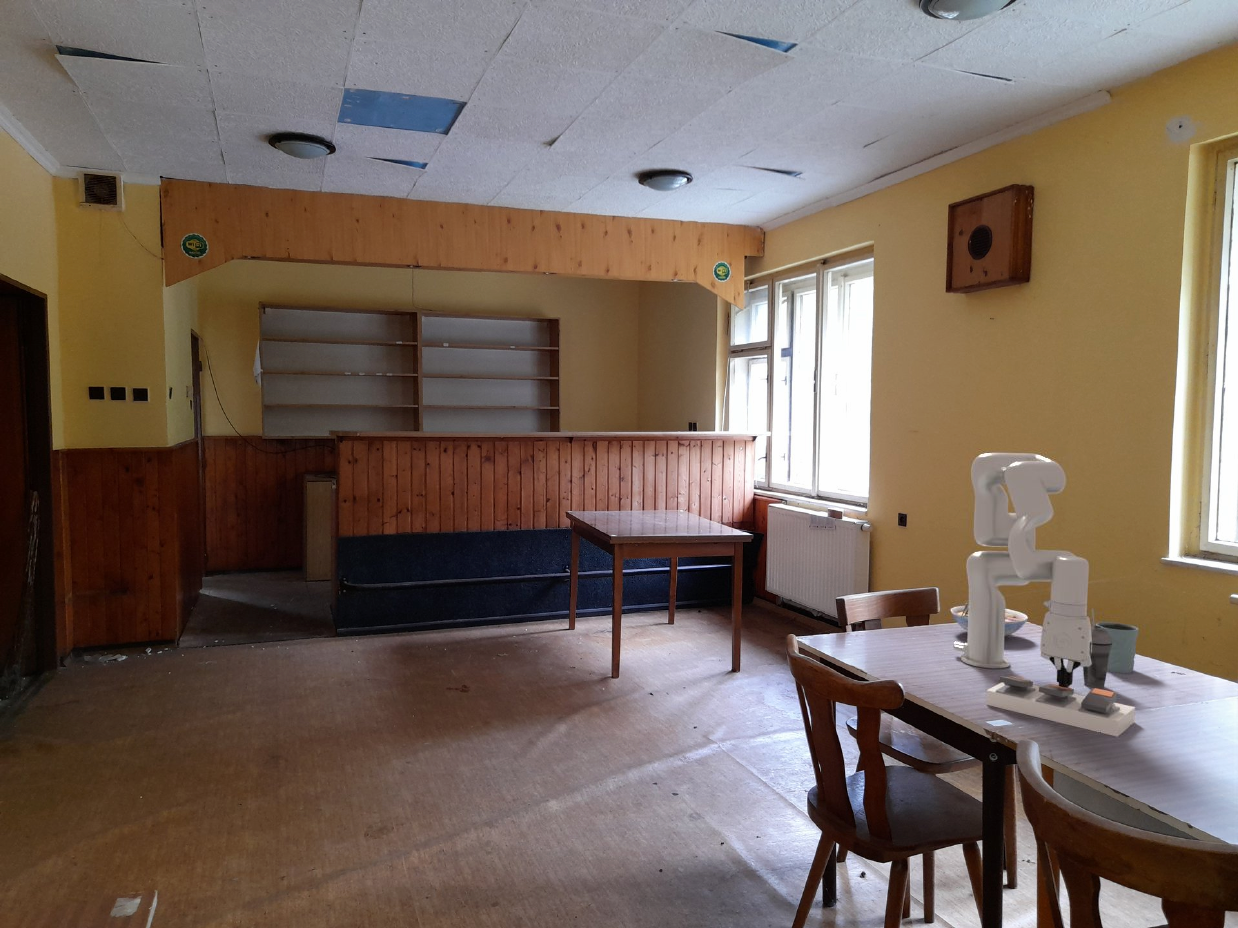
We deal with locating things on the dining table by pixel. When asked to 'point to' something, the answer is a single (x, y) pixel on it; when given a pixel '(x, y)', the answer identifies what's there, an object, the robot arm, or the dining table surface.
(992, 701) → the rocker switch panel
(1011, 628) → the ramen bowl
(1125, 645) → the teal plant pot
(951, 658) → the dining table surface
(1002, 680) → the left rocker
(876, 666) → the dining table surface
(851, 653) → the dining table surface
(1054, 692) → the middle rocker
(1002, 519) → the robot arm
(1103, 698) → the right rocker
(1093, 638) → the beverage cup
